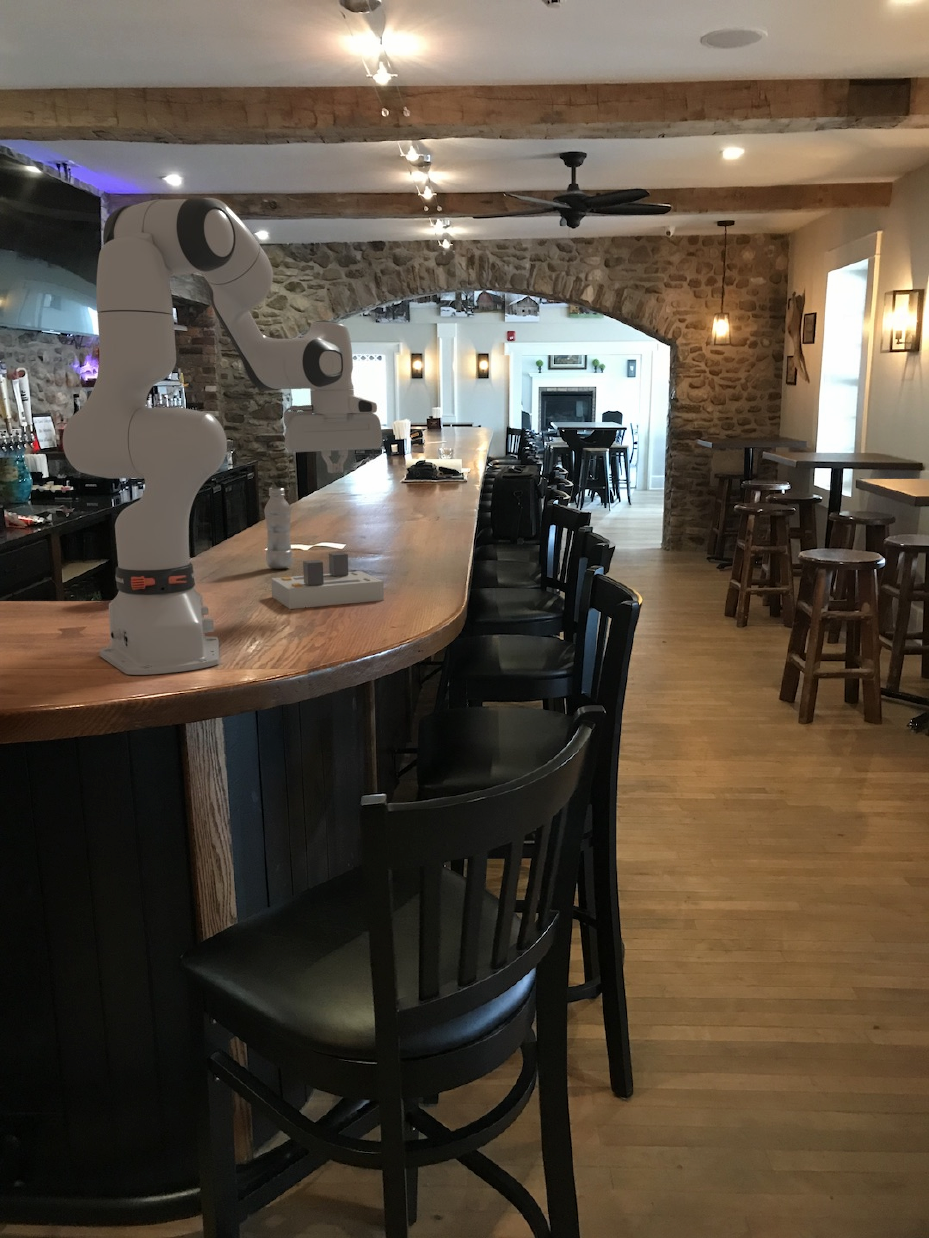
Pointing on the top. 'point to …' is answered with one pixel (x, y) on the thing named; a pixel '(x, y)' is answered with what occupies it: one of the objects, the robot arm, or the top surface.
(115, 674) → the top surface
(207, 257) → the robot arm
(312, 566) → the near tab
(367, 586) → the switch housing
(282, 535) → the plastic bottle
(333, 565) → the far tab
